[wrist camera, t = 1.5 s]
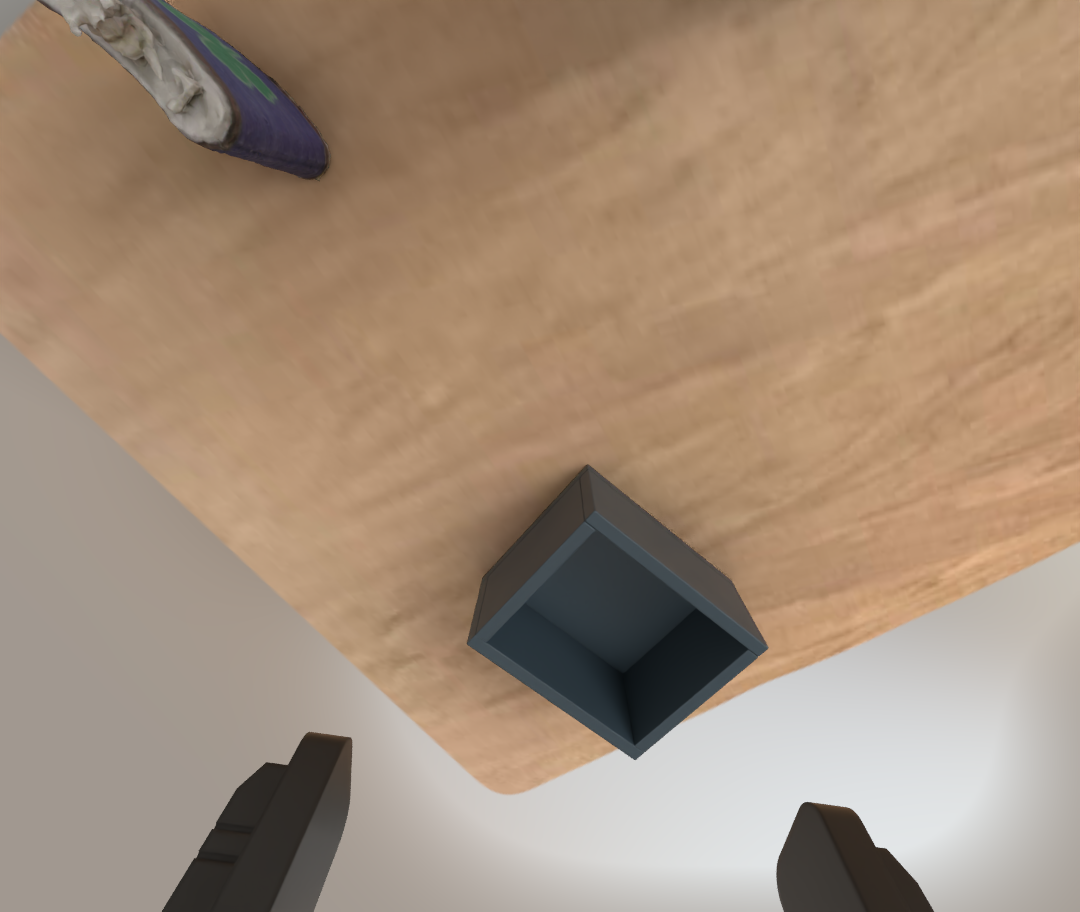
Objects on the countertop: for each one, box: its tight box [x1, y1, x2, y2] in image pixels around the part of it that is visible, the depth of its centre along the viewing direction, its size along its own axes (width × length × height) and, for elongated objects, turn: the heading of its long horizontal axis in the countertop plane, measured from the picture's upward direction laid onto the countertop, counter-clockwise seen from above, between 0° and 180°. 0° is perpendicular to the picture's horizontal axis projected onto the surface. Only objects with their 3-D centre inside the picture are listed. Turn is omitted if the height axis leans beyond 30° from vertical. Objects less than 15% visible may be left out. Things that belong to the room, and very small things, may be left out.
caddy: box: [467, 465, 768, 760], centre depth 33 cm, size 11×13×7 cm
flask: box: [37, 0, 331, 181], centre depth 23 cm, size 9×3×11 cm, turn 47°
